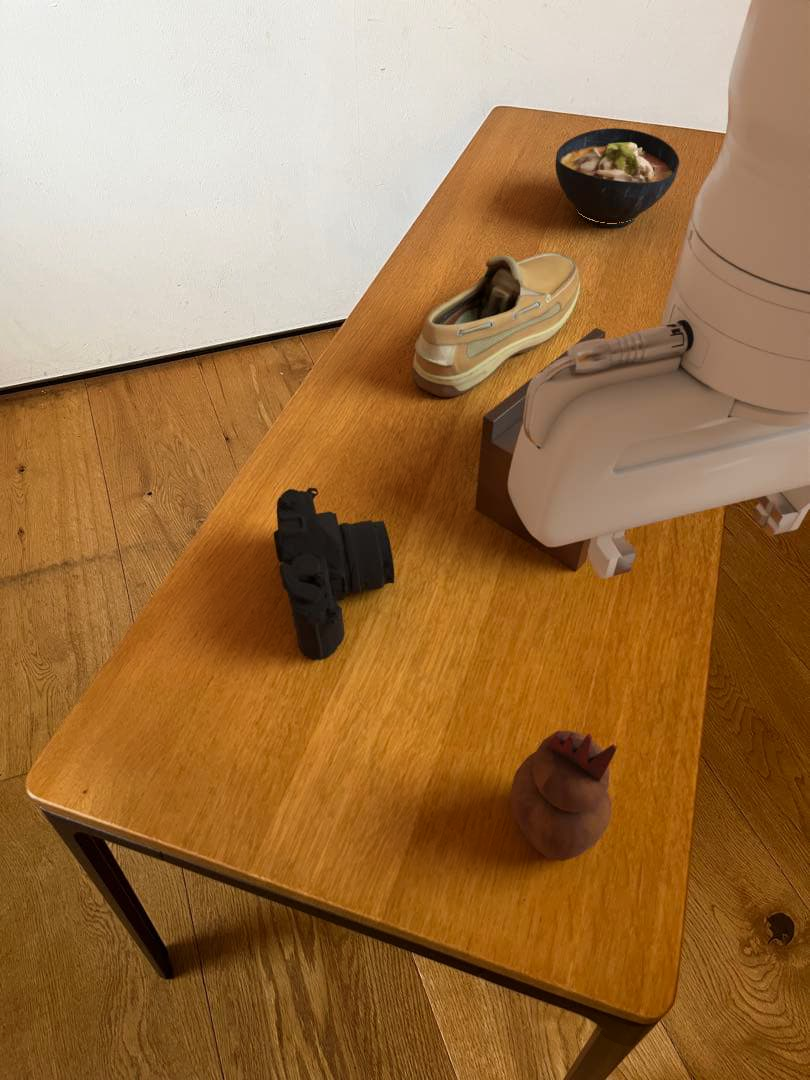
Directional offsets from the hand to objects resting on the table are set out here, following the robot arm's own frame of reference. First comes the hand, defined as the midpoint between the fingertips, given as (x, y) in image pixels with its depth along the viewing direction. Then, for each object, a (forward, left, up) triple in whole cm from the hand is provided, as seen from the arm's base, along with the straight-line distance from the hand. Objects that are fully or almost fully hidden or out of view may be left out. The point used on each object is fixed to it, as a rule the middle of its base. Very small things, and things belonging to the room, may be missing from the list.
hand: (692, 544), depth 40 cm
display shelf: (+18, -24, -26) cm, 40 cm away
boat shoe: (+39, -40, -27) cm, 62 cm away
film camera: (+27, +1, -27) cm, 38 cm away
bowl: (+47, -75, -27) cm, 93 cm away
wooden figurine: (0, +6, -27) cm, 27 cm away
